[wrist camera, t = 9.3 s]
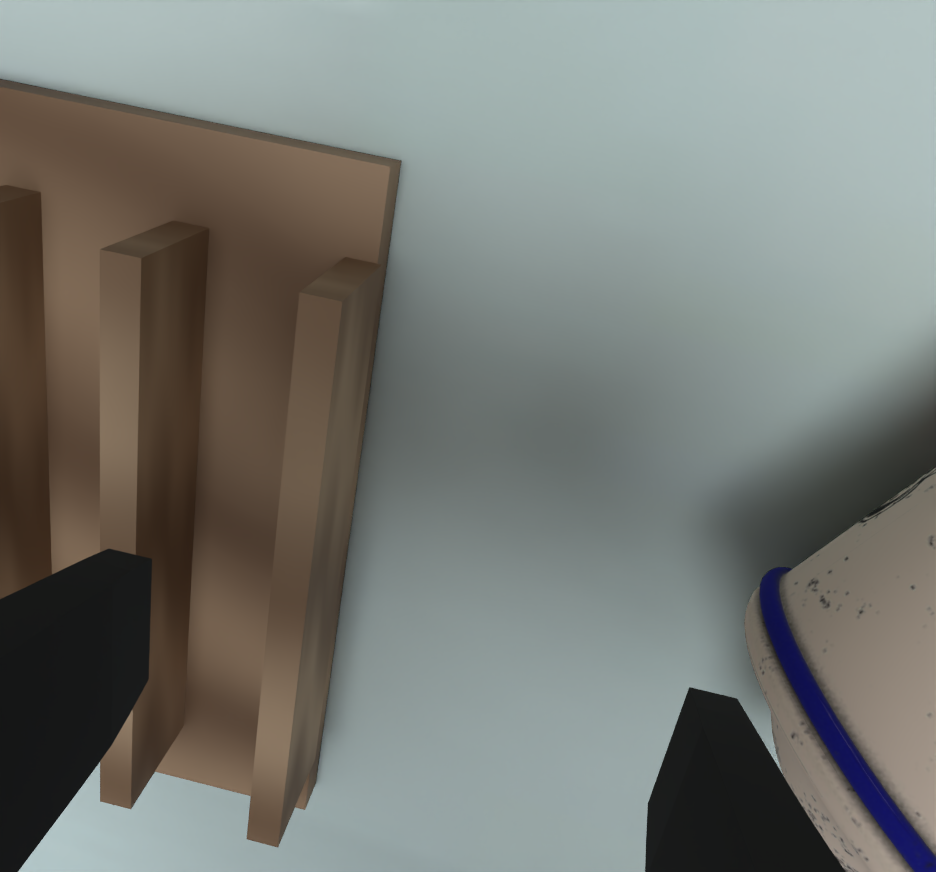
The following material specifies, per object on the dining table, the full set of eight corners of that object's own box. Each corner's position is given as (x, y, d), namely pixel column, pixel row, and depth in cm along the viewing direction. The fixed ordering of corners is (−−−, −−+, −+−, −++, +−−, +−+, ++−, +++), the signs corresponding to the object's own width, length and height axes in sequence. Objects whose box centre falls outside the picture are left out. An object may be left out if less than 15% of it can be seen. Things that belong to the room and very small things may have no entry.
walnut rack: (318, 784, 26) (271, 901, 23) (-68, 686, 27) (-173, 785, 23) (405, 161, 19) (355, 189, 15) (-133, 52, 20) (-303, 52, 16)
